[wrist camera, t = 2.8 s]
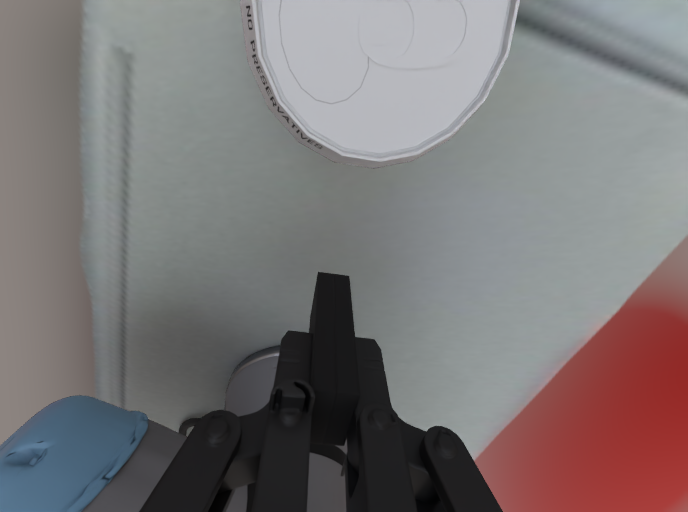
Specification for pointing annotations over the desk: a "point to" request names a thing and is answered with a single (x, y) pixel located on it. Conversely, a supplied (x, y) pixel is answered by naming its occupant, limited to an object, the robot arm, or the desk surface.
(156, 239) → the desk surface
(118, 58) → the desk surface
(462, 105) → the supplement can
